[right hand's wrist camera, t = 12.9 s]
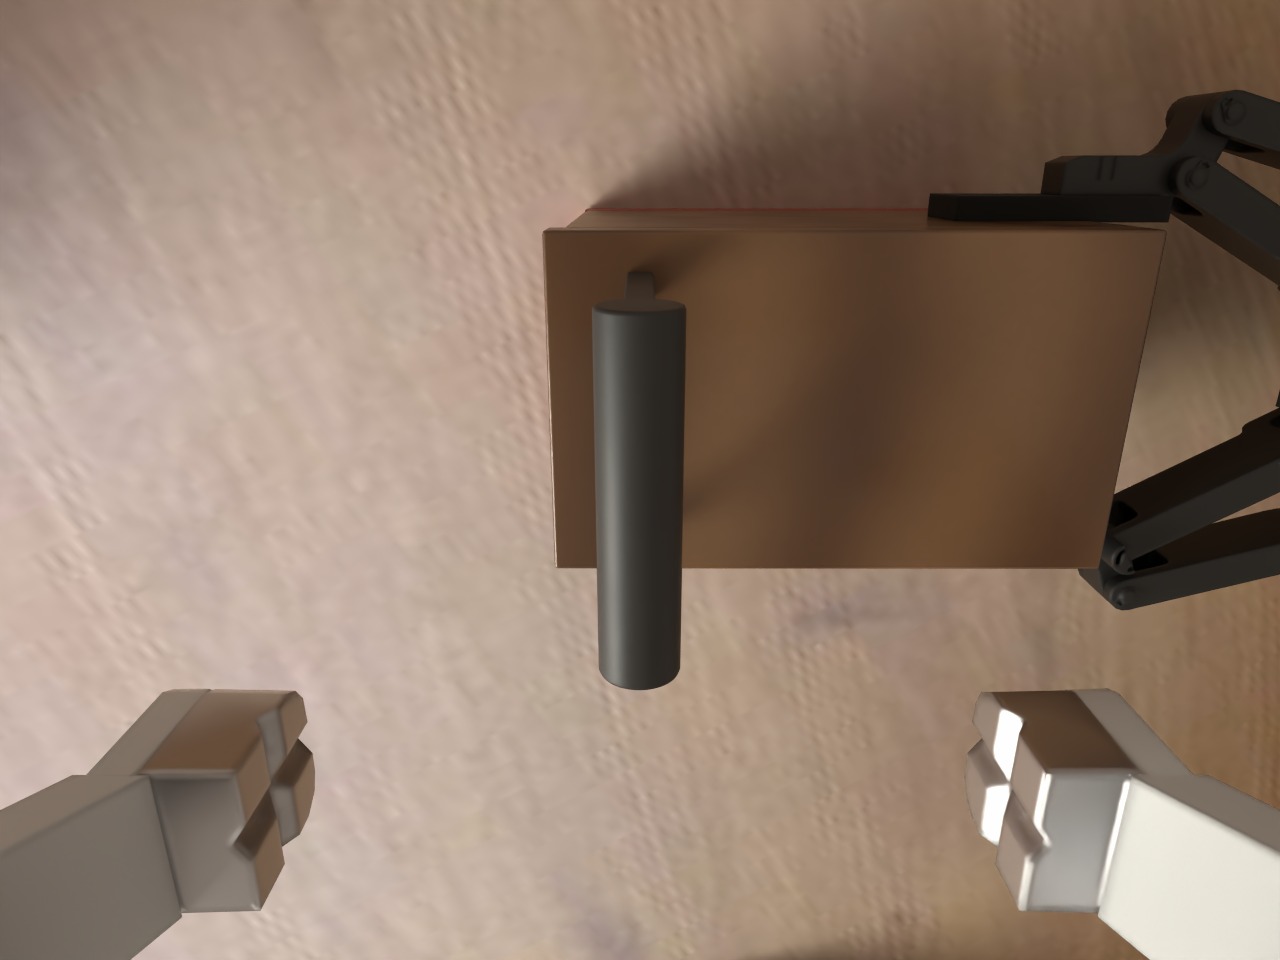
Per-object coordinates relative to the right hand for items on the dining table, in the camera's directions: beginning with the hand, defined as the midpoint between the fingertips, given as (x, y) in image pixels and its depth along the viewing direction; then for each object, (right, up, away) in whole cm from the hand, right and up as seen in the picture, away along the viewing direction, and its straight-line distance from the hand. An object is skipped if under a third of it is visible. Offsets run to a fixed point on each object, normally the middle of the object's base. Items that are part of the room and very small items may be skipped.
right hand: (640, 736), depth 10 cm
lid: (+6, +5, +15) cm, 17 cm away
